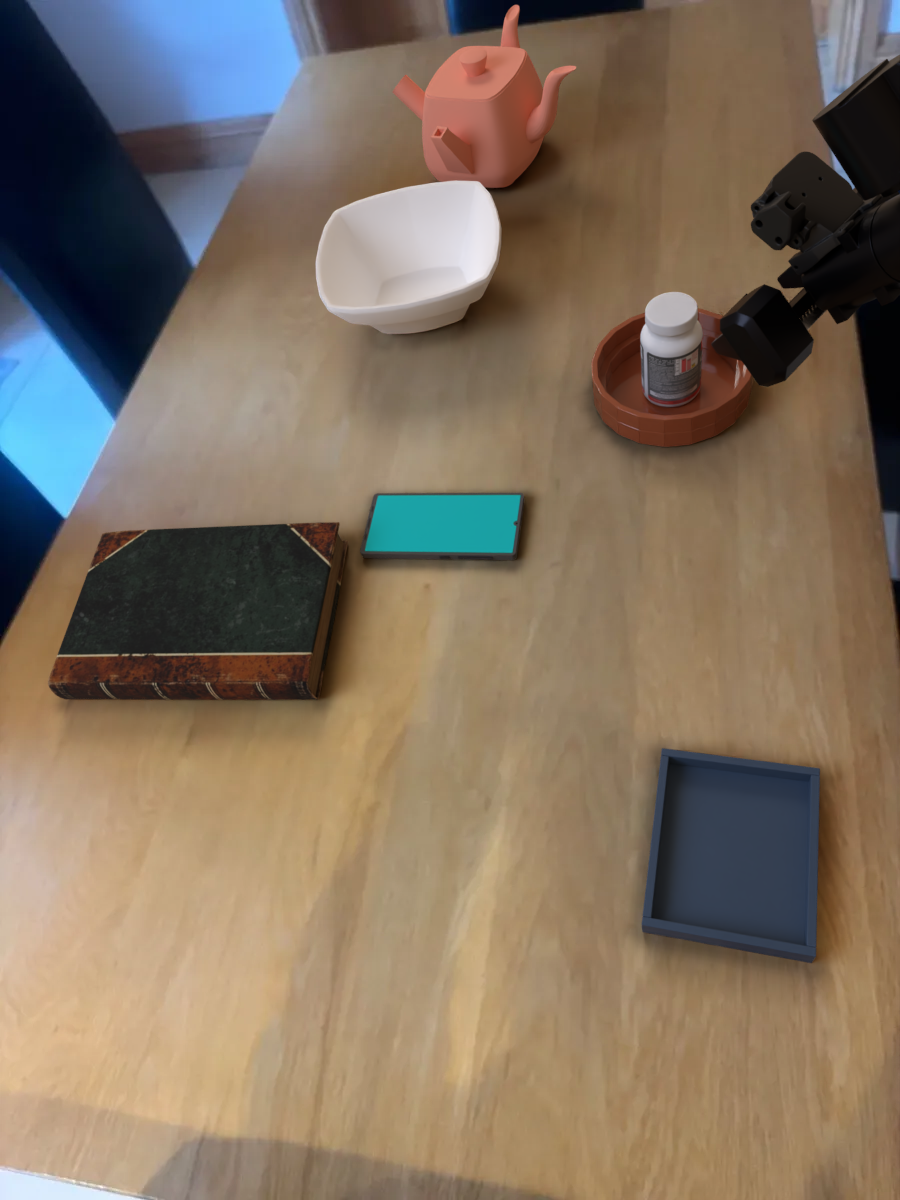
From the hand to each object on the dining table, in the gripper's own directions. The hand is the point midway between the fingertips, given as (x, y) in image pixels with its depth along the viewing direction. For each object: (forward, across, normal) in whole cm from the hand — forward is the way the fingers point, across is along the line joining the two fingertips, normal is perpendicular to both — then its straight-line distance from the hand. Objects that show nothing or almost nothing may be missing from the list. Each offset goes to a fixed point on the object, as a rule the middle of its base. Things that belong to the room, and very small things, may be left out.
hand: (748, 314), depth 76 cm
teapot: (+46, -22, -27) cm, 58 cm away
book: (+28, +47, -9) cm, 55 cm away
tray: (-7, +34, +26) cm, 43 cm away
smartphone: (+20, +26, -1) cm, 33 cm away
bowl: (+38, +4, -19) cm, 42 cm away
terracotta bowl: (+15, 0, +4) cm, 16 cm away
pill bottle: (+15, 0, +4) cm, 16 cm away
